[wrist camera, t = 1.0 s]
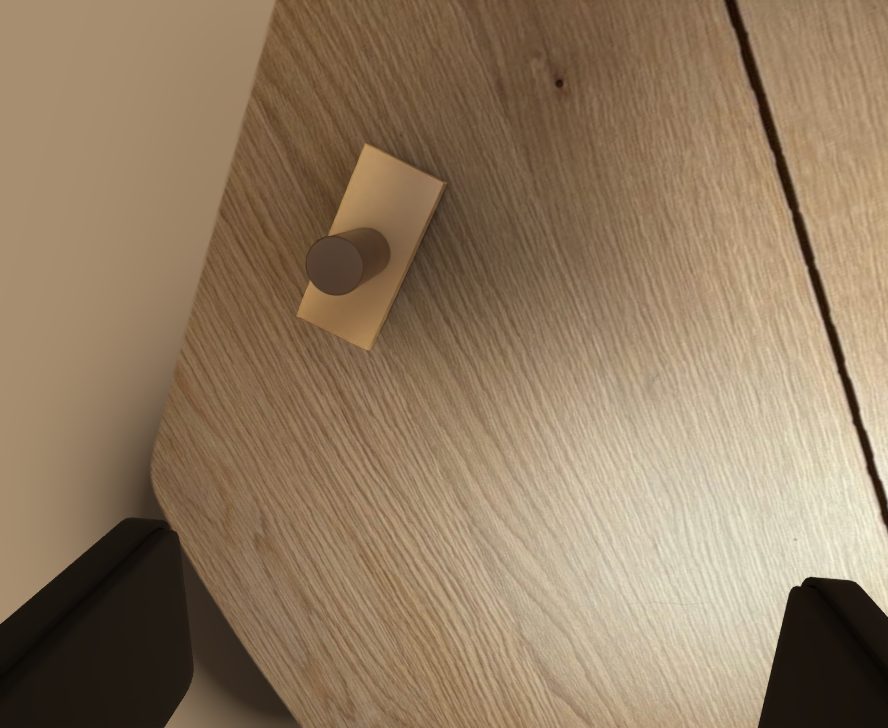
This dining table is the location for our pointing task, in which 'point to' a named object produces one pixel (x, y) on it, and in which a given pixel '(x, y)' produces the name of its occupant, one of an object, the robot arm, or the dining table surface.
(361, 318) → the peg on base plate
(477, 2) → the dining table surface
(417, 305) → the dining table surface
